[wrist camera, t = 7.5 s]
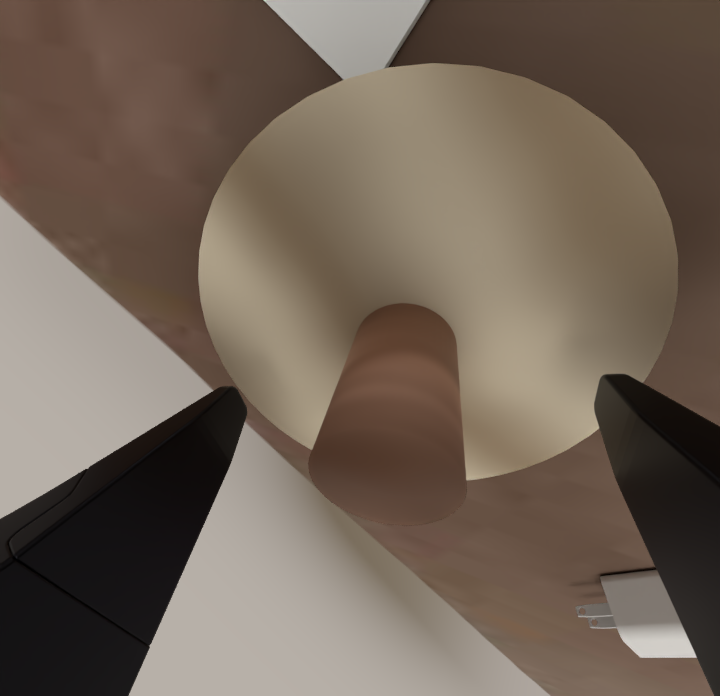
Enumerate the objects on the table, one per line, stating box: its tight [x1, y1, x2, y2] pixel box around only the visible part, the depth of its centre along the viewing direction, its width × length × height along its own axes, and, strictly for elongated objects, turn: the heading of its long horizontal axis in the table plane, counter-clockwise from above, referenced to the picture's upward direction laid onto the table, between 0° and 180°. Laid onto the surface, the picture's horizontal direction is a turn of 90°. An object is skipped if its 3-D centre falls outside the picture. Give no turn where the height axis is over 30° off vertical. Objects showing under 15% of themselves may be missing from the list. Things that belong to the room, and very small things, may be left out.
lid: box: [198, 63, 678, 526], centre depth 9 cm, size 13×13×6 cm
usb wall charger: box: [576, 570, 697, 658], centre depth 24 cm, size 4×7×4 cm, turn 133°
